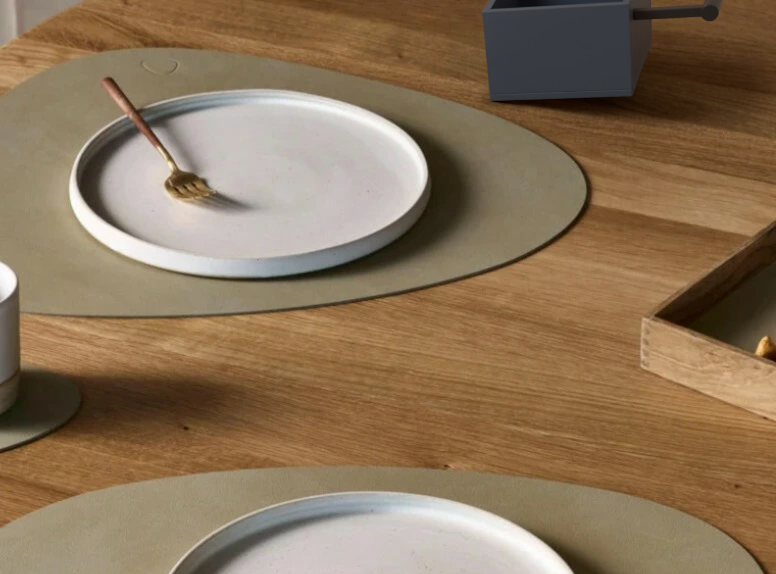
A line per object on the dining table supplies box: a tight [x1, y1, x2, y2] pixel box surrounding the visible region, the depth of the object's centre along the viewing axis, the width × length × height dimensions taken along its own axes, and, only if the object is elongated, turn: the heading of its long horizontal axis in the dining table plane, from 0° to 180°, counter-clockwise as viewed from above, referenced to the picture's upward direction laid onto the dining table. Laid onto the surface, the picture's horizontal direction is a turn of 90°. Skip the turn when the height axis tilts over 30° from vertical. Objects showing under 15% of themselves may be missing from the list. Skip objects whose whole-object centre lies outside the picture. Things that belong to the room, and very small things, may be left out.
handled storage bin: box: [481, 0, 724, 102], centre depth 150 cm, size 22×14×9 cm, turn 71°
